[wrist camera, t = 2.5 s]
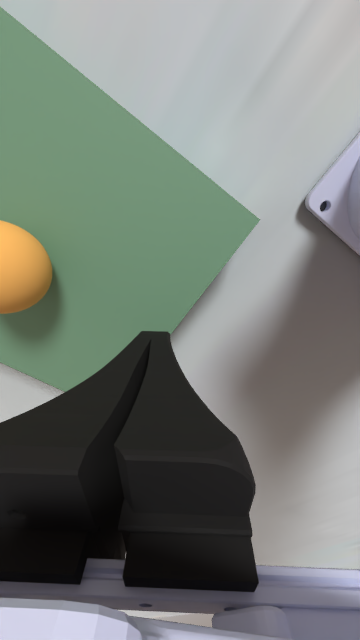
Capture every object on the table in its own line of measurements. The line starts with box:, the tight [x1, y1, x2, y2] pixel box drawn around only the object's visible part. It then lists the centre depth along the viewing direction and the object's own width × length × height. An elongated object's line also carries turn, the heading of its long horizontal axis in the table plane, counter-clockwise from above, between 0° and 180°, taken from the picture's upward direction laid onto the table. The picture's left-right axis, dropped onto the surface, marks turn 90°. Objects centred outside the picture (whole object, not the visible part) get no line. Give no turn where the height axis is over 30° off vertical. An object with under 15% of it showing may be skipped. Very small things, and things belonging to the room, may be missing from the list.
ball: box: [0, 220, 52, 314], centre depth 9 cm, size 4×4×4 cm
